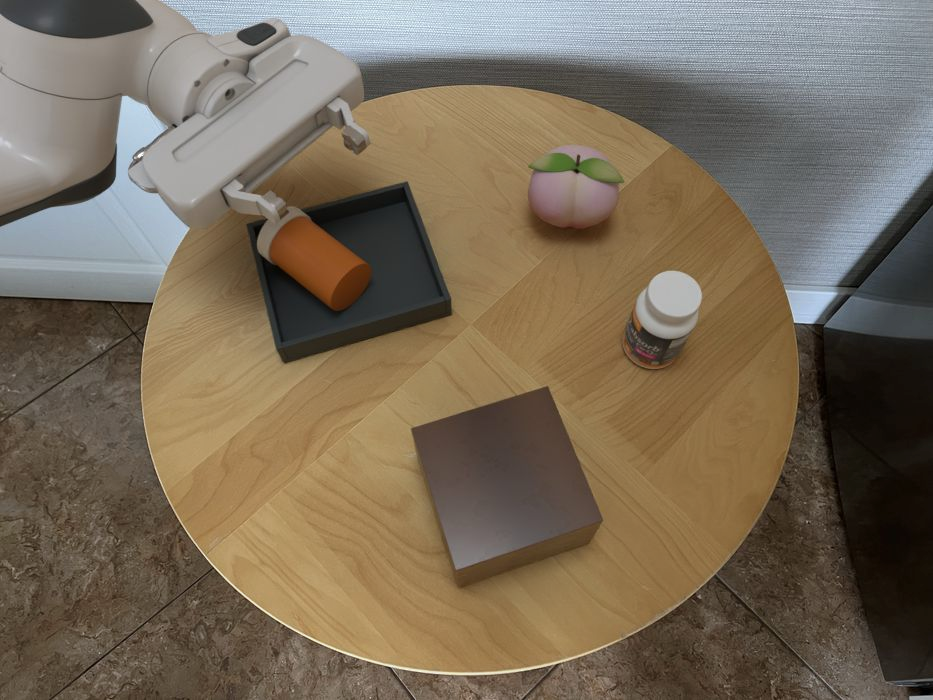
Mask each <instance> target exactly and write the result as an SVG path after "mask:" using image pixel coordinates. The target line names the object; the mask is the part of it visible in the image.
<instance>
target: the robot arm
mask: <svg viewBox="0 0 933 700" xmlns="http://www.w3.org/2000/svg"><path fill="white" fill-rule="evenodd" d="M363 80H364V79H363V76H362V72H361V69H360V67H359V65H358V64H357V62H355V61H354V59H351V58H350V57H349V56H347V55H345V54H344V53H342V52H341V51H339V50H337V49H336V48H334V47H333V46H331V45H329V44H326V43H325V42H323V41H321V40H319V39H317V38H315V37H313V36H309V35H306V34H293V35H292V34H291V32H290V29H289V27H288V25H287V24H286V22H284V21H283V20H281V19H279V18H275V17H273V18H267V19H265V20H262V21H260V22H258V23H254V24H252V25H250V26H246V27H244V28H240V29H237V30H233V31H230V32H225V33H220V34H219V33H218V34H215V35H211V34H210V33H207V32H204V31H200V30H198V29H197V28H196V26H195V25H194V24H193V23H192V22H191V21H190V20H189V19H188V18H186V17H185V16H184V15H183V14H182V13H180V12H179V11H177V10H176V9H174V8H172V7H171V6H169V5H168V4H166V3H165V2H163V1H161V0H0V228H2V227H4V226H6V225H9V224H12V223H14V222H17V221H19V220H22V219H24V218H27V217H29V216H32V215H34V214H37V213H40V212H42V211H44V210H47V209H51V208H57V207H66V206H73V205H78V204H82V203H86V202H88V201H91V200H92V199H95V198H96V197H99V196H100V195H101V194H103V193H104V192H105V191H107V190H109V189H110V188H111V187H112V186H113V184H114V183H115V181H116V178H117V161H118V160H117V159H118V157H117V156H118V144H117V139H118V131H119V124H120V118H121V111H122V101H123V97H128V98H129V99H131V100H133V101H134V102H136V103H138V104H140V105H143V106H147V108H148V110H149V111H150V112H151V114H152V115H153V116H154V117H155V118H156V119H157V120H159V121H160V122H161V123H162V124H163V125H165V126H167V127H168V128H166V129H165V130H163V131H162V132H161V133H159V134H158V135H157V136H156V137H155V138H154V139H153V140H151V142H150V143H149V144H147V145H146V146H143V147H141V148H139V149H138V150H137V151H136V152H135V153H133V155H132V161H131V162H130V164H129V166H128V169H127V175H128V179H129V180H130V181H131V182H132V183H133V184H134V185H136V186H137V187H138V188H139V189H141V190H142V191H143V192H146V193H147V194H158V196H159V197H160V199H161V200H162V202H163V203H164V204H165V205H166V206H167V207H168V209H169V210H170V211H171V212H172V213H173V214H174V215H175V217H177V219H179V221H180V222H181V223H183V224H184V226H186V227H187V228H188V229H190V230H206V229H208V228H210V227H211V226H212V225H213V224H215V223H216V222H217V221H218V220H219V219H221V218H222V217H223V216H224V215H226V214H227V213H228V212H230V211H231V209H232V210H234V211H235V212H236V213H238V214H243V215H252V216H253V215H254V216H263V217H264V218H265V219H266V218H267V219H269V220H270V221H271V222H272V223H274V224H277V223H278V222H279V221H280V220H281V219H282V218H284V217H285V216H286V215H287V214H288V213H289V210H288V209H287V207H288V205H287V203H286V201H285V200H284V199H283V198H281V196H277V194H276V193H275V192H273V190H271V189H270V190H268V191H267V192H266V193H265V194H263V195H261V194H257V193H253V192H254V191H255V190H256V189H258V188H259V187H260V186H261V185H262V184H263V183H265V182H266V181H268V179H270V178H271V177H273V176H274V175H275V174H276V173H277V172H279V171H280V170H281V169H282V168H284V167H285V166H286V165H287V164H288V163H290V162H291V161H292V160H293V159H295V158H296V157H297V156H299V154H301V153H302V152H303V151H305V150H306V149H307V148H308V147H310V146H311V145H312V144H313V143H315V142H316V141H317V140H318V139H319V138H320V137H322V136H323V135H325V134H326V133H327V132H329V130H331V129H332V128H333V127H335V128H336V129H338V130H342V131H341V132H340V133H341V138H343V146H344V147H345V148H346V149H347V150H349V151H352V152H353V154H355V155H356V156H359V155H360V154H361V153H363V152H364V151H365V150H366V149H367V148H368V147H370V146H371V139H370V134H369V133H368V131H367V130H366V129H364V128H363V127H361V126H360V125H358V124H357V123H356V122H355V118H354V116H353V114H352V112H353V111H354V110H355V109H357V108H358V107H359V106H360V105H361V104H363V102H364V100H365V89H364V81H363ZM344 127H345V128H344Z"/></svg>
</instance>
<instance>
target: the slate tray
mask: <svg viewBox="0 0 933 700" xmlns="http://www.w3.org/2000/svg"><path fill="white" fill-rule="evenodd" d="M299 209H300V210H301V211H302V212H304V213H305V214H306V215H308V216H309V217H310V218H311V220H312V222H314V223H315V224H316V225H317V226H319V227H320V228H321V229H323V230H324V231H325V232H327V233H328V234H329V235H331V236H332V237H333V238H335V239H336V240H337V241H338V242H340V243H341V244H342V245H344V246H345V247H346V248H348V249H349V250H350V251H352V252H353V253H354V254H356V255H357V256H358V257H359V258H361V259H362V260H363V261H365V262H366V263H367V264H369V266H370V268H371V276H370V280H369V282H368V284H367V286H366V288H365V290H364V291H363V293H362V294H361V295H360V296H359V298H358V299H357V300H356V301H355V302H354V303H353V304H351V305H350V306H349V307H347V308H345V309H343V310H340V311H334V310H333V309H331V308H330V307H329V306H328V305H326V304H325V303H324V302H323V301H321V300H320V299H319V298H318V297H316V296H315V295H314V294H313V293H311V292H310V291H309V290H308V289H306V288H305V287H304V286H303V285H301V284H300V283H299V282H298V281H296V280H295V279H294V278H293V277H291V276H290V275H289V274H288V273H286V272H285V271H284V270H282V269H281V268H280V267H279V266H277V265H274V264H272V263H271V262H269V261H268V260H267V259H266V258H264V257H263V256H262V255H261V254H260V253H259V251H258V249H257V240H258V236H259V233H260V231H261V229H262V227H263V226H264V224H265V223H266V221H267V220H268V219H267V218H266V217H265V218H263V219H259V220H255V221H252V222H247V223H246V224H245V225H246V230H247V233H248V238H249V241H250V246H251V250H252V254H253V259H254V263H255V266H256V271H257V275H258V279H259V283H260V288H261V292H262V296H263V300H264V305H265V308H266V313H267V317H268V320H269V325H270V329H271V332H272V337H273V341H274V345H275V350H276V352H277V354H278V356H279V357H280V359H281V361H282V363H283V364H287V363H290V362H294V361H297V360H301V359H304V358H308V357H311V356H314V355H318V354H321V353H324V352H328V351H332V350H335V349H338V348H342V347H345V346H348V345H352V344H355V343H356V344H357V343H360V342H363V341H366V340H369V339H373V338H376V337H380V336H384V335H387V334H390V333H393V332H394V333H395V332H398V331H400V330H404V329H408V328H411V327H414V326H418V325H422V324H425V323H428V322H431V321H434V320H439V319H442V318H446V317H449V316H452V315H453V310H452V297H451V295H450V292H449V289H448V287H447V284H446V282H445V281H446V280H445V278H444V275H443V273H442V271H441V267H440V265H439V262H438V259H437V257H436V255H435V252H434V249H433V245H432V243H431V241H430V237H429V236H428V232H427V230H426V227H425V225H424V222H423V219H422V217H421V214H420V210H419V208H418V206H417V203H416V200H415V198H414V195H413V192H412V190H411V186H410V184H409V181H408V180H406V181H403V182H399V183H395V184H392V185H388V186H384V187H380V188H376V189H373V190H368V191H365V192H361V193H358V194H354V195H349V196H346V197H343V198H338V199H334V200H331V201H328V202H323V203H319V204H316V205H312V206H308V207H305V208H299Z"/></svg>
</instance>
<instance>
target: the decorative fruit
mask: <svg viewBox="0 0 933 700" xmlns="http://www.w3.org/2000/svg"><path fill="white" fill-rule="evenodd" d="M527 168H528V169H531V170H532V172H531V176H530V178H529V183H528V188H527V189H528V190H527V200H528V202H529V207H530V209H531V210H532V212H533V213H534V214H535V215H536V216H537V217H538V218H539V219H540V220H542V221H543V222H546V223H547V224H549V225H551V226H554V227H557V228H568V227H569V228H570V227H571V228H575V229H585V228H589V227H592V226H595V225H598V224H600V223H601V222H603V221H605V220H607V219H608V218H609V217H610V216H611V215H612V214H613V213H614V211H615V210H616V208H617V206H618V203H619V197H620V184H624V183H625V180H624V177H623V176H622V174H621V172H619V170H618V169H617V168H616V167H615V166H613V164H612V162H611V161H610V159H609V158H608V157H607V156H606V155H605V154H604V153H602V152H601V151H600V150H598V149H596V148H594V147H591V146H586V145H583V144H582V145H581V144H565V145H560V146H558V147H554V148H552V149H551V150H549V151H548V152H546V153H545V154H544V155H542V156H540V157H538V158H536V159H535V160H534V161H532V162H531V163H530V164H529V165H528V166H527Z"/></svg>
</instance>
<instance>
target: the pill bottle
mask: <svg viewBox="0 0 933 700" xmlns="http://www.w3.org/2000/svg"><path fill="white" fill-rule="evenodd" d="M702 301H703V293H702V289H701V287H700V285H699V283H698V282H697V281H696V280H695V279H694V278H693V277H691V276H690V275H689V274H687V273H686V272H682V271H678V270H665V271H662V272H659V273H658V274H656V275H655V276H654V277H652V278H651V280H650V281H649V284H648V285H647V287H645V288H644V289H643V290H642V291H641V292H640V293H639V295H638V296H637V298H636V300H635V304H634V306H633V308H632V310H631V313H630V315H629V318H628V320H627V323H626V325H625V328H624V330H623V334H622V339H621V340H622V341H621V342H622V347H623V350H624V353H625V354H626V356H627V357H628V358H629V359H630V361H631V362H633V363H634V364H635V365H637V366H639V367H642V368H645V369H649V370H650V369H651V370H659V369H663V368H666V367H668V366H670V365H671V364H672V363H674V362H675V360H676V359H677V358H678V357H679V356H680V354H681V352H682V349H683V348H684V347H685V345H686V343H687V340H688V339H689V338H690V336H691V334H692V332H693V330H694V329H695V327H696V325H697V323H698V320H699V308H700V306H701V304H702Z"/></svg>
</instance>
